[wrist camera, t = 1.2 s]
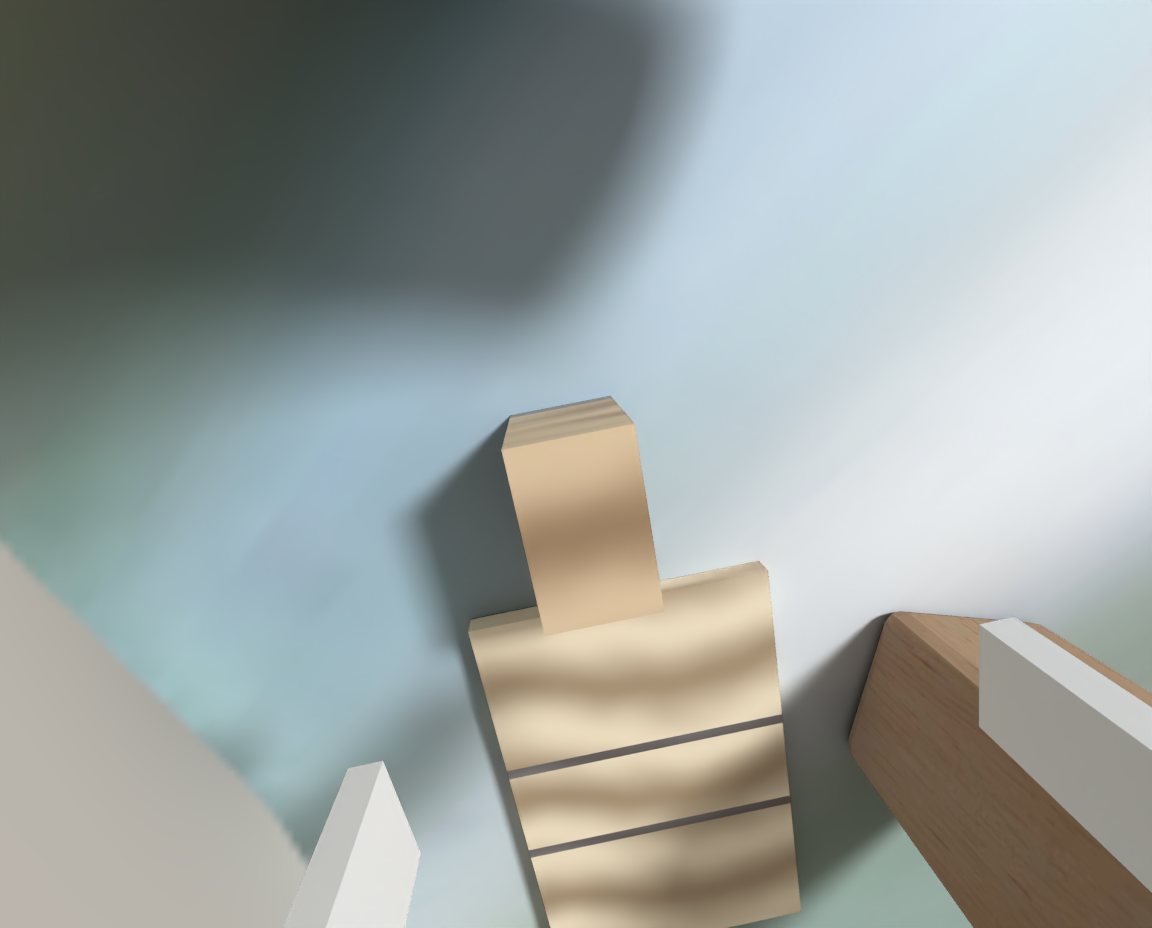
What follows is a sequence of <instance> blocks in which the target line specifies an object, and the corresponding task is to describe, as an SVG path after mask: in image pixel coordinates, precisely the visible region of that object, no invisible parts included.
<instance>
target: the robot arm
mask: <svg viewBox="0 0 1152 928" xmlns="http://www.w3.org/2000/svg"><path fill="white" fill-rule="evenodd" d="M979 727H980V728H981V729H982V730H983V731H984V732H985V733H986V734H987V735H988V736H990V737H991V738H992V739H993V740H994V741H995V742H996V743H997V744H998V745H999V746H1000V747H1001V748H1002V749H1003V750H1004V751H1005V752H1006V753H1007V754H1008V755H1009V756H1010V757H1011V758H1012V759H1013V760H1014V761H1015V762H1017V763H1018V764H1019V765H1020V766H1021V767H1022V768H1023V769H1024V770H1025V771H1026V772H1027V773H1028V774H1029V775H1030V776H1031V777H1032V778H1033V779H1034V780H1035V781H1036V782H1037V783H1038V784H1039V785H1040V786H1041V787H1042V788H1044V789H1045V790H1046V791H1047V792H1048V793H1049V794H1050V795H1051V796H1052V797H1053V798H1054V799H1055V800H1056V801H1057V802H1058V803H1059V804H1060V805H1061V806H1062V807H1063V808H1064V809H1065V810H1066V811H1067V812H1068V813H1069V814H1071V815H1072V816H1073V817H1074V818H1075V819H1076V820H1077V821H1078V822H1079V823H1080V824H1081V825H1082V826H1083V827H1084V828H1085V829H1086V830H1087V831H1088V832H1089V833H1090V834H1091V835H1092V836H1093V837H1094V838H1095V839H1097V840H1098V841H1099V842H1100V843H1101V844H1102V845H1103V846H1104V847H1105V848H1106V849H1107V850H1108V851H1109V852H1110V853H1111V854H1112V855H1113V856H1114V857H1115V858H1116V859H1117V860H1118V861H1119V862H1120V863H1121V864H1122V865H1124V866H1125V867H1126V868H1127V869H1128V870H1129V871H1130V872H1131V873H1132V874H1133V875H1134V876H1135V877H1136V878H1137V879H1138V880H1139V881H1140V882H1141V883H1142V884H1143V885H1144V886H1145V887H1146V888H1147V889H1148V890H1149V891H1151V892H1152V707H1150V706H1149V705H1147V704H1146V703H1144V702H1143V701H1141V700H1140V699H1138V698H1137V697H1135V696H1134V695H1132V694H1131V693H1129V692H1128V691H1126V690H1125V689H1123V688H1122V687H1120V686H1119V685H1117V684H1116V683H1114V682H1112V681H1111V680H1109V679H1108V678H1106V677H1105V676H1103V675H1102V674H1100V673H1099V672H1097V671H1096V670H1094V669H1093V668H1091V667H1090V666H1088V665H1087V664H1085V663H1084V662H1082V661H1081V660H1079V659H1078V658H1076V657H1075V656H1073V655H1072V654H1070V653H1069V652H1067V651H1066V650H1064V649H1063V648H1061V647H1059V646H1058V645H1056V644H1055V643H1053V642H1052V641H1050V640H1049V639H1047V638H1046V637H1044V636H1043V635H1041V634H1040V633H1038V632H1037V631H1035V630H1034V629H1032V628H1031V627H1029V626H1028V625H1026V624H1025V623H1023V622H1022V621H1020V620H1019V619H1017V618H1016V617H1010V618H1006V619H1001V620H997V621H993V622H988V623H984V624H979ZM420 855H421V853H420V850H419V848H418V845H417V843H416V841H415V838H414V836H413V833H412V831H411V828H410V826H409V823H408V821H407V819H406V816H405V814H404V811H403V809H402V806H401V804H400V801H399V799H398V796H397V794H396V792H395V789H394V787H393V784H392V782H391V779H390V777H389V774H388V772H387V770H386V767H385V765H384V762H383V761H379V762H375V763H370V764H366V765H361V766H357V767H353V768H348V770H347V772H346V775H345V777H344V780H343V782H342V785H341V787H340V789H339V792H338V794H337V797H336V799H335V802H334V804H333V806H332V809H331V811H330V814H329V816H328V819H327V821H326V824H325V826H324V828H323V831H322V833H321V836H320V838H319V841H318V843H317V845H316V848H315V850H314V853H313V855H312V858H311V860H310V863H309V865H308V867H307V870H306V872H305V875H304V877H303V880H302V882H301V885H300V887H299V889H298V892H297V894H296V897H295V899H294V902H293V904H292V906H291V909H290V911H289V914H288V916H287V919H286V921H285V923H284V926H283V928H405V925H406V921H407V916H408V911H409V907H410V902H411V897H412V893H413V888H414V883H415V879H416V874H417V869H418V865H419V860H420Z"/></svg>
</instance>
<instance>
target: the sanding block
mask: <svg viewBox="0 0 1152 928" xmlns="http://www.w3.org/2000/svg"><path fill="white" fill-rule="evenodd" d="M501 451H502V455H503V459H504V464H505V468H506V472H507V476H508V481H509V485H510V489H511V494H512V498H513V502H514V506H515V511H516V515H517V519H518V523H519V528H520V532H521V536H522V541H523V545H524V549H525V553H526V558H527V562H528V566H529V571H530V575H531V579H532V583H533V588H534V592H535V596H536V601H537V605H538V609H539V613H540V618H541V622H542V626H543V630H544V635H545V636H548V635H553V634H558V633H563V632H568V631H573V630H578V629H583V628H588V627H593V626H597V625H602V624H607V623H612V622H617V621H622V620H627V619H632V618H637V617H641V616H646V615H651V614H656V613H661V612H665V611H664V605H663V599H662V592H661V586H660V580H659V574H658V567H657V561H656V555H655V549H654V542H653V536H652V530H651V524H650V517H649V511H648V505H647V499H646V492H645V486H644V480H643V474H642V467H641V461H640V455H639V449H638V442H637V436H636V430H635V424H634V422H633V421H632V420H631V419H630V418H629V417H628V416H627V414H626V413H625V412H624V411H623V410H622V409H621V408H620V406H619V405H618V404H617V403H616V402H615V401H614V399H613V398H612V397H611V396H607V397H602V398H597V399H592V400H587V401H581V402H576V403H571V404H566V405H561V406H556V407H551V408H546V409H541V410H536V411H531V412H526V413H521V414H516V415H511V416H510V419H509V423H508V427H507V430H506V434H505V438H504V442H503V446H502V449H501Z"/></svg>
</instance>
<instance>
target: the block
mask: <svg viewBox="0 0 1152 928" xmlns="http://www.w3.org/2000/svg"><path fill="white" fill-rule="evenodd" d="M993 621H997V620H993V619H982V618H970V617H958V616H947V615H935V614H924V613H912V612H896V613H893V614H891V615H890V616H889V617H888V619H887V620H886V621H885V623H884V626H883V629H882V633H881V636H880V639H879V642H878V645H877V649H876V652H875V655H874V658H873V661H872V665H871V668H870V671H869V674H868V677H867V681H866V684H865V687H864V690H863V693H862V697H861V700H860V703H859V706H858V709H857V713H856V716H855V719H854V722H853V725H852V729H851V732H850V735H849V748H850V751H851V754H852V757H853V758H854V760H855V761H856V763H857V764H858V765H859V767H860V768H861V770H862V771H863V772H864V774H865V775H866V777H867V778H868V780H869V781H870V782H871V784H872V785H873V787H874V788H875V789H876V791H877V792H878V794H879V795H880V796H881V798H882V799H883V801H884V802H885V803H886V805H887V806H888V808H889V809H890V811H891V812H892V813H893V815H894V816H895V818H896V819H897V820H898V822H899V823H900V825H901V826H902V827H903V829H904V830H905V832H906V833H907V835H908V836H909V837H910V839H911V840H912V842H913V843H914V844H915V846H916V847H917V849H918V850H919V851H920V853H921V854H922V856H923V857H924V858H925V860H926V861H927V863H928V864H929V866H930V867H931V868H932V870H933V871H934V873H935V874H936V875H937V877H938V878H939V880H940V881H941V882H942V884H943V885H944V887H945V888H946V890H947V891H948V892H949V894H950V895H951V897H952V898H953V899H954V901H955V902H956V904H957V905H958V906H959V908H960V909H961V911H962V912H963V913H964V915H965V916H966V918H967V919H968V921H969V922H970V923H971V925H972V926H973V928H1152V892H1151V891H1149V890H1148V889H1147V888H1146V887H1145V886H1144V885H1143V884H1142V883H1141V882H1140V881H1139V880H1138V879H1137V878H1136V877H1135V876H1134V875H1133V874H1132V873H1131V872H1130V871H1129V870H1128V869H1127V868H1126V867H1125V866H1124V865H1122V864H1121V863H1120V862H1119V861H1118V860H1117V859H1116V858H1115V857H1114V856H1113V855H1112V854H1111V853H1110V852H1109V851H1108V850H1107V849H1106V848H1105V847H1104V846H1103V845H1102V844H1101V843H1100V842H1099V841H1098V840H1097V839H1095V838H1094V837H1093V836H1092V835H1091V834H1090V833H1089V832H1088V831H1087V830H1086V829H1085V828H1084V827H1083V826H1082V825H1081V824H1080V823H1079V822H1078V821H1077V820H1076V819H1075V818H1074V817H1073V816H1072V815H1071V814H1069V813H1068V812H1067V811H1066V810H1065V809H1064V808H1063V807H1062V806H1061V805H1060V804H1059V803H1058V802H1057V801H1056V800H1055V799H1054V798H1053V797H1052V796H1051V795H1050V794H1049V793H1048V792H1047V791H1046V790H1045V789H1044V788H1042V787H1041V786H1040V785H1039V784H1038V783H1037V782H1036V781H1035V780H1034V779H1033V778H1032V777H1031V776H1030V775H1029V774H1028V773H1027V772H1026V771H1025V770H1024V769H1023V768H1022V767H1021V766H1020V765H1019V764H1018V763H1017V762H1015V761H1014V760H1013V759H1012V758H1011V757H1010V756H1009V755H1008V754H1007V753H1006V752H1005V751H1004V750H1003V749H1002V748H1001V747H1000V746H999V745H998V744H997V743H996V742H995V741H994V740H993V739H992V738H991V737H990V736H988V735H987V734H986V733H985V732H984V731H983V730H982V729H981V728H980V727H979V624H984V623H988V622H993ZM1023 623H1025V624H1026V625H1028V626H1029V627H1031V628H1032V629H1034V630H1035V631H1037V632H1038V633H1040V634H1041V635H1043V636H1044V637H1046V638H1047V639H1049V640H1050V641H1052V642H1053V643H1055V644H1056V645H1058V646H1059V647H1061V648H1063V649H1064V650H1066V651H1067V652H1069V653H1070V654H1072V655H1073V656H1075V657H1076V658H1078V659H1079V660H1081V661H1082V662H1084V663H1085V664H1087V665H1088V666H1090V667H1091V668H1093V669H1094V670H1096V671H1097V672H1099V673H1100V674H1102V675H1103V676H1105V677H1106V678H1108V679H1109V680H1111V681H1112V682H1114V683H1116V684H1117V685H1119V686H1120V687H1122V688H1123V689H1125V690H1126V691H1128V692H1129V693H1131V694H1132V695H1134V696H1135V697H1137V698H1138V699H1140V700H1141V701H1143V702H1144V703H1146V704H1147V705H1149V706H1150V707H1152V693H1150V692H1148V691H1147V690H1145V689H1144V688H1142V687H1140V686H1139V685H1137V684H1136V683H1134V682H1132V681H1131V680H1129V679H1127V678H1126V677H1124V676H1123V675H1121V674H1119V673H1118V672H1116V671H1115V670H1113V669H1111V668H1110V667H1108V666H1106V665H1105V664H1103V663H1102V662H1100V661H1098V660H1097V659H1095V658H1094V657H1092V656H1090V655H1089V654H1087V653H1086V652H1084V651H1082V650H1081V649H1079V648H1077V647H1076V646H1074V645H1073V644H1071V643H1069V642H1068V641H1066V640H1065V639H1063V638H1061V637H1060V636H1058V635H1057V634H1055V633H1053V632H1052V631H1050V630H1048V629H1047V628H1045V627H1043V626H1042V625H1039V624H1033V623H1028V622H1023Z"/></svg>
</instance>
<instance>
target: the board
mask: <svg viewBox="0 0 1152 928" xmlns="http://www.w3.org/2000/svg"><path fill="white" fill-rule="evenodd" d="M660 586H661V592H662V599H663V605H664V611H665V612H661V613H656V614H651V615H646V616H641V617H637V618H632V619H627V620H622V621H617V622H612V623H607V624H602V625H597V626H593V627H588V628H583V629H578V630H573V631H568V632H563V633H558V634H553V635H548V636H545V635H544V630H543V626H542V622H541V618H540V613H539V609H538V606H535V607H530V608H525V609H520V610H516V611H511V612H506V613H501V614H496V615H491V616H486V617H481V618H476V619H471V621H470V626H469V630H468V634H469V637H470V641H471V644H472V648H473V651H474V655H475V659H476V662H477V666H478V669H479V673H480V677H481V680H482V684H483V687H484V691H485V695H486V698H487V702H488V705H489V709H490V713H491V716H492V720H493V723H494V727H495V731H496V734H497V738H498V741H499V745H500V749H501V752H502V756H503V759H504V763H505V766H506V770H507V774H508V777H509V781H510V784H511V788H512V792H513V795H514V799H515V802H516V806H517V810H518V813H519V817H520V820H521V824H522V828H523V831H524V835H525V838H526V842H527V846H528V849H529V853H530V856H531V860H532V864H533V867H534V871H535V874H536V878H537V881H538V885H539V889H540V892H541V896H542V899H543V903H544V907H545V910H546V914H547V917H548V921H549V925H550V928H729V927H733V926H738V925H743V924H747V923H752V922H757V921H761V920H766V919H771V918H776V917H780V916H785V915H790V914H794V913H799V912H801V905H800V895H799V885H798V874H797V864H796V854H795V844H794V833H793V823H792V813H791V802H790V792H789V782H788V771H787V761H786V751H785V741H784V730H783V720H782V710H781V699H780V689H779V679H778V669H777V658H776V648H775V638H774V627H773V617H772V607H771V596H770V586H769V576H768V570H767V569H766V568H765V567H764V566H763V565H762V564H761V563H760V561H756V562H752V563H747V564H742V565H737V566H732V567H727V568H722V569H717V570H712V571H707V572H702V573H697V574H693V575H688V576H683V577H678V578H673V579H668V580H663V581H660Z"/></svg>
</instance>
